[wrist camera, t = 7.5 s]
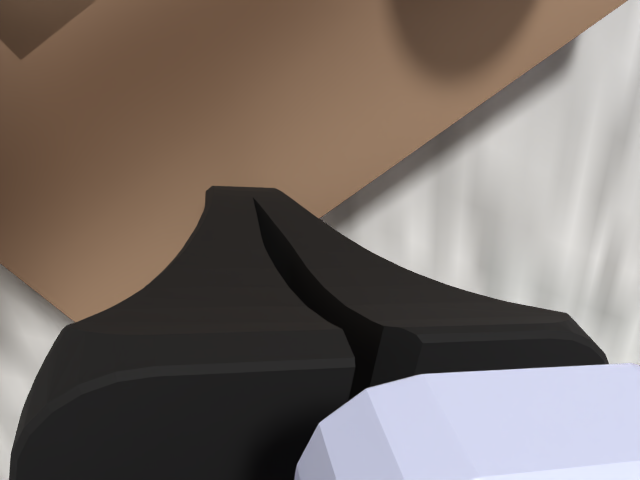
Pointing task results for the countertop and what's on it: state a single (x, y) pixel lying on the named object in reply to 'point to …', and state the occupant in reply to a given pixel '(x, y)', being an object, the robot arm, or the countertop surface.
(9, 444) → the countertop surface
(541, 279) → the countertop surface
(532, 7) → the brown square tray
